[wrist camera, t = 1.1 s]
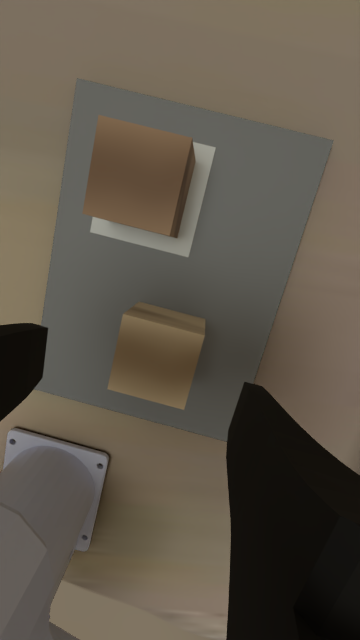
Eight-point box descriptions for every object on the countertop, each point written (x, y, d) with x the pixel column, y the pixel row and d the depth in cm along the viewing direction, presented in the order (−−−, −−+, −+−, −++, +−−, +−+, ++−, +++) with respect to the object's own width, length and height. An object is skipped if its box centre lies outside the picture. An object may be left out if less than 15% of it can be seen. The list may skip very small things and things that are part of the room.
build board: (232, 437, 23) (233, 444, 22) (37, 384, 24) (31, 389, 23) (328, 145, 18) (334, 139, 18) (82, 85, 19) (76, 77, 18)
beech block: (188, 380, 22) (183, 409, 18) (125, 363, 22) (107, 389, 18) (205, 319, 21) (204, 335, 17) (138, 301, 21) (122, 313, 17)
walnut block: (177, 238, 19) (169, 236, 16) (107, 220, 20) (82, 213, 16) (195, 161, 18) (192, 137, 14) (121, 142, 18) (98, 114, 15)
